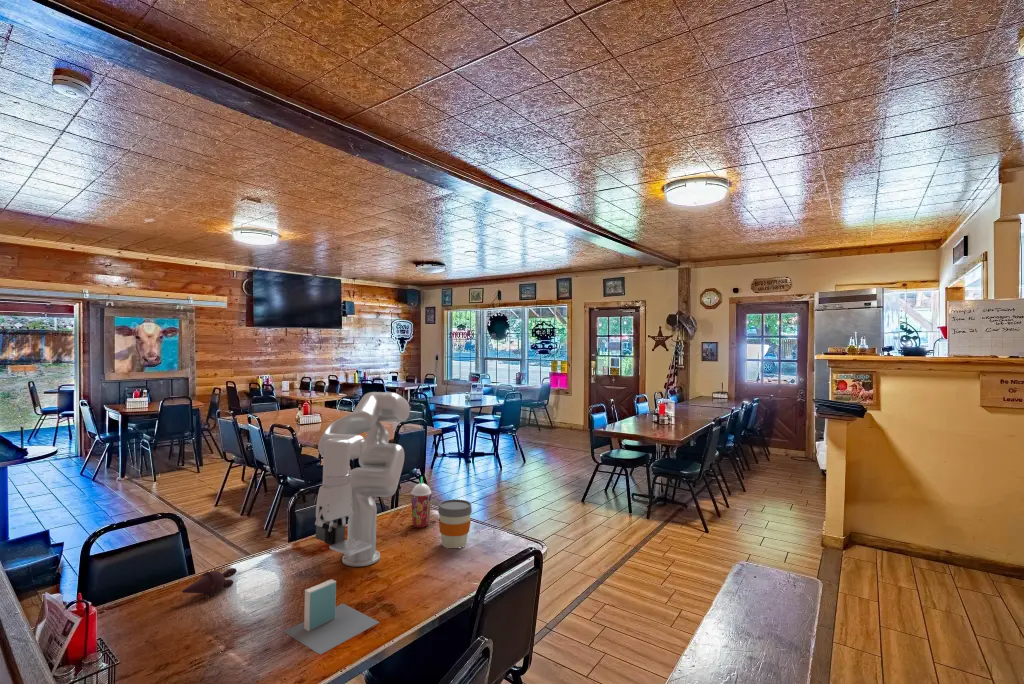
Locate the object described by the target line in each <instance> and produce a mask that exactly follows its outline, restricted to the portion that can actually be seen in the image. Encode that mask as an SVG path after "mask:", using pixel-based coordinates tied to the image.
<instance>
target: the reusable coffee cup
mask: <svg viewBox="0 0 1024 684" xmlns="http://www.w3.org/2000/svg"><path fill="white" fill-rule="evenodd" d="M472 512H473V510H472V503H471V502H470V501H468V500H465V499H447V500H443V501H440V503H439V504H438V510H437V513H438V514H439V515H438V516H439V518H438V526H439V533H440V535H441V536H440V537H441V544H442V547H443V546H444V547H443V548H445V547H447V548H446V549H448V548H459V547H463V546H465V545H466V546H467V543H468V541H467V540H468V535H469V533H470V528H471V522H472V519H471V514H472ZM466 546H465V547H466ZM463 548H464V547H463Z"/></svg>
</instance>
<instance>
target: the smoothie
mask: <svg viewBox="0 0 1024 684" xmlns="http://www.w3.org/2000/svg"><path fill="white" fill-rule="evenodd" d="M410 495H411V498H410V499H411V519H412V524H413V527H415V528H418V527H422V528H425V526H426V527H427V526H429V525H428V524H429V523H430V513H431V503H432V490H431V488H430V486H429V485H428V484H426V483H424V482H423V476H420V482H419V483H417V484H416V485H415V486H414V487H413V488H412V491H411V492H410Z"/></svg>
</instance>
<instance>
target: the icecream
mask: <svg viewBox="0 0 1024 684" xmlns="http://www.w3.org/2000/svg"><path fill="white" fill-rule="evenodd" d="M237 572H238V571H237V568H236V567H231V568H229V569H227V570H226V571H224V572H223V573H222V572H220V571H218V570H214V571H211V570H210V571H206V572H205V573H203V574H201V578H199V579H197V580H196V581H195V582H193V583H191V584H190V585H189V586H187V587H185V588H184V589H182V591H181V592H182V594H183V593H185V594H203V595H204V596H206V595H207V596H206V597H208V596H209V597H208V598H211V597H212V595H215V594H217V593H220V591H221V590H222V589H223V588H229V587H231V586H233V584H234V581H233V580H232V579H228V578H231V577H232V576H234V575H235V574H237ZM226 578H227V579H226ZM228 586H229V587H228Z"/></svg>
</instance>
